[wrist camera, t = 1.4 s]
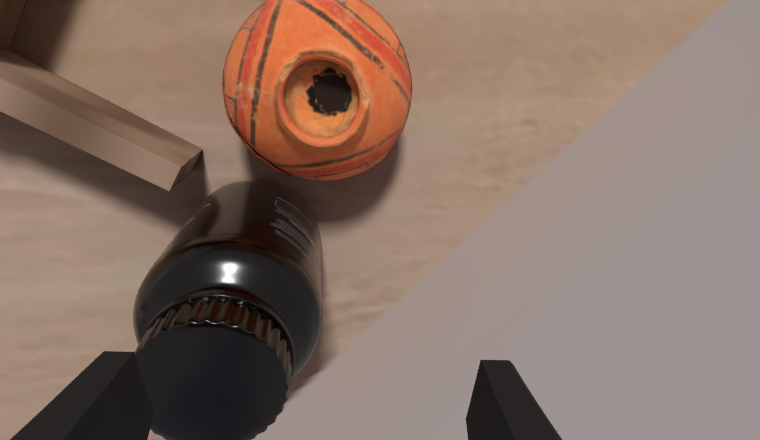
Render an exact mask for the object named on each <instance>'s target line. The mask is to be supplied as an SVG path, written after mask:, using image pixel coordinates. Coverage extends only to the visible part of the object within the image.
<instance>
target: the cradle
mask: <svg viewBox="0 0 760 440" xmlns="http://www.w3.org/2000/svg"><path fill="white" fill-rule="evenodd" d="M26 1H27V0H0V111H1V112H3V113H5V114H7V115H9V116H11V117H13V118H15V119H18V120H20V121H22V122H24V123H26V124H28V125H30V126H32V127H34V128H37V129H39V130H41V131H43V132H45V133H47V134H49V135H51V136H53V137H56V138H58V139H60V140H62V141H64V142H66V143H68V144H70V145H72V146H75V147H77V148H79V149H81V150H83V151H85V152H87V153H89V154H91V155H93V156H96V157H98V158H100V159H102V160H104V161H106V162H108V163H110V164H112V165H115V166H117V167H119V168H121V169H123V170H125V171H127V172H129V173H131V174H134V175H136V176H138V177H140V178H142V179H144V180H146V181H148V182H150V183H153V184H155V185H157V186H159V187H161V188H163V189H165V190H167V191H170V190H171V189H172V188H174V187H175V186H176V185H177V184H178V183H179V182H180V181H181V180H182V179H183V178H184V177H185V176H186V175H187V174H189V173H190V172H191V171H192V170H193V167H194V165H195V163H196V161H197V159H198V157H199V155H200V153H201V151H202V149H201V148H199V147H197V146H195V145H193V144H191V143H189V142H187V141H185V140H184V139H182V138H180V137H178V136H176V135H174V134H172V133H170V132H168V131H166V130H164V129H162V128H160V127H158V126H156V125H154V124H152V123H150V122H148V121H146V120H144V119H142V118H140V117H138V116H136V115H134V114H132V113H130V112H128V111H127V110H125V109H123V108H121V107H119V106H117V105H115V104H113V103H111V102H109V101H107V100H105V99H103V98H101V97H99V96H97V95H95V94H93V93H91V92H89V91H87V90H85V89H83V88H81V87H79V86H77V85H75V84H73V83H71V82H70V81H68V80H66V79H64V78H62V77H60V76H58V75H56V74H54V73H52V72H50V71H48V70H46V69H44V68H42V67H40V66H38V65H36V64H34V63H32V62H30V61H28V60H26V59H24V58H22V57H20V56H18V55H16V54H14V53H13V52H11V51H9V47H10V45H11V42H12V39H13V36H14V34H15V31H16V28H17V26H18V23H19V20H20V17H21V15H22V12H23V9H24V6H25V4H26Z"/></svg>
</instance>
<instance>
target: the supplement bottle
mask: <svg viewBox="0 0 760 440" xmlns="http://www.w3.org/2000/svg"><path fill="white" fill-rule="evenodd" d="M321 321H322V279H321V239H320V232H319V228H318V225H317V222H316V220H315V218H314V216H313V214H312V212H311V211H310V209H309V208H308V207H307V205H306V204H305V203H304V202H303V201H302V200H301V199H300V198H299V197H297V196H296V195H295V194H293V193H292V192H290V191H289V190H287V189H285V188H283V187H281V186H278V185H275V184H272V183H268V182H263V181H241V182H236V183H232V184H229V185H226V186H224V187H222V188H220V189H218V190H216V191H215V192H213V193H212V194H211V195H209V196H208V197H207V198H206V199H205V200H204V201H203V202H202V203H201V204H200V205H199V206H198V207H197V209H196V210H195V211H194V212H193V214H192V215H191V216H190V217H189V219H188V220H187V221H186V223H185V224H184V225H183V227H182V228H181V229H180V231H179V232H178V233H177V235H176V236H175V237H174V239H173V240H172V241H171V243H170V244H169V245H168V247H167V248H166V249H165V250H164V252H163V253H162V254H161V256H160V257H159V258H158V260H157V261H156V262H155V264H154V265H153V266H152V268H151V269H150V271H149V272H148V274H147V275H146V277H145V279H144V280H143V282H142V284H141V286H140V288H139V290H138V293H137V296H136V300H135V305H134V312H133V324H134V331H135V335H136V339H137V343H138V347H137V349H136V350H135V355H136V359H137V362H138V365H139V368H140V371H141V374H142V377H143V380H144V383H145V386H146V389H147V392H148V395H149V398H150V401H151V404H152V408H153V411H154V418H153V421H152V424H151V430H152V431H153V432H154V434H157V435H160V436H162V437H163V438H164V439H166V440H251V439H254V438H255V437H256V435H257V434H259V433H262V432H264V431H266V429H267V427H268V426H269V425H271V424H272V423H274V422H275V420H276V417H277V415H279V414H280V413H281V412H282V411H283V408H284V403H285V402H286V401H287V399H288V396H289V386H290V383H291V379H292V378H293V377H294V376H295V375H296V374H297V373H298V372H299V371H300V370H301V369H302V368H303V367H304V365H305V364H306V363H307V362H308V360H309V359H310V357H311V355H312V354H313V351H314V349H315V347H316V345H317V342H318V339H319V335H320V330H321Z"/></svg>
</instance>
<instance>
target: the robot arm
mask: <svg viewBox="0 0 760 440" xmlns="http://www.w3.org/2000/svg"><path fill="white" fill-rule="evenodd" d="M153 418H154V411H153V408H152V404H151V401H150V398H149V395H148V392H147V389H146V386H145V383H144V380H143V377H142V374H141V371H140V368H139V365H138V362H137V359H136V355H135V352H110V351H104V352H103V353H102V354H101V355H100V356H98V357H97V358H96V359H95V360H94V361H93V362H92V363H91V364H90V365H89V366H88V367H87V368H86V369H85V370H83V371H82V372H81V373H80V374H79V375H78V376H77V377H76V378H75V379H74V380H73V381H72V382H71V383H70V384H69V385H68V386H67V387H66V388H65V389H64V390H63V391H62V392H61V393H59V394H58V395H57V396H56V397H55V398H54V399H53V400H52V401H51V402H50V403H49V404H48V405H47V406H46V407H45V408H44V409H43V410H42V411H41V412H39V413H38V414H37V415H36V416H35V417H34V418H33V419H32V420H31V421H30V422H29V423H28V424H27V425H25V426H24V427H23V428H22V429H21V430H20V431H19V432H18V433H17V434H16V435H15V436H13V437H12V438H11V439H10V440H147V438H148V435H149V431H150V428H151V424H152V421H153ZM466 422H467V423H466V424H467V432H468V440H562V439H561V437H560V436H559V434H558V433H557V432H556V430H555V429H554V427H553V426H552V424H551V423H550V421H549V420H548V418H547V417H546V415H545V414H544V412H543V411H542V409H541V408H540V406H539V405H538V403H537V402H536V400H535V399H534V397H533V396H532V394H531V392H530V391H529V389H528V388H527V386H526V385H525V383H524V381H523V380H522V378H521V377H520V375H519V373H518V372H517V370H516V368H515V367H514V365H513V364H512V363H511V362H510V361H508V360H505V361H504V360H481V361H480V366H479V369H478V373H477V377H476V381H475V385H474V389H473V393H472V397H471V401H470V405H469V409H468V413H467V417H466Z"/></svg>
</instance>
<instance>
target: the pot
mask: <svg viewBox="0 0 760 440" xmlns="http://www.w3.org/2000/svg"><path fill="white" fill-rule="evenodd" d="M222 85H223V94H224V95H223V96H224V103H225V109H226V114H227V117H228V120H229V121H230V123H231V125H232V127H233V129H234V130H235V132H236V133H237V134H238V136H239V137H240V138H241V139H242V141H243V142H244V144H245V145H246V146H247V148H248V149H249V150H250V151H251V152H252V153H253V154H254V155H255V156H256V157H258V158H259V159H260V160H261V161H262V162H264V163H265V164H266V165H268V166H269V167H271V168H273V169H275V170H278V171H280V172H282V173H285V174H288V175H290V176H292V175H294V176H297V177H300V178H304V179H308V180H315V181H331V180H339V179H344V178H348V177H351V176H354V175H357V174H360V173H362V172H364V171H366V170H368V169H370V168H371V167H373V166H375V165H376V164H378V163H379V162H381V161H382V160H383V159H384V158H385V157H386V155H387V154H388V153H389V152H390V150H391V149H392V147H393V145H394V144H395V142H396V140H397V139H398V137H399V136H400V134H401V132H402V131H403V129H404V126H405V123H406V120H407V117H408V114H409V110H410V106H411V98H412V79H411V73H410V68H409V64H408V61H407V57H406V54H405V51H404V48H403V46H402V44H401V42H400V40H399V38H398V36H397V35H396V33H395V32H394V30H393V29H392V27H391V26H390V24H389V23H388V22H387V21H386V20H385V19H384V18H383V17H382V16H381V15H380V14H379V13H378V12H377V11H376V10H375V9H373V8H372V7H371V6H369V5H368V4H366V3H365V2H363V1H362V0H268V1H266V2H264V3H263V4H262V5H260V6H259V7H258V8H257V9H256V10H255V11H254V12H253V13H252V14H251V15H250V16H249V17H248V18H247V20H246V21H245V22H244V23H243V25H242V26H241V27H240V29H239V30H238V32H237V33H236V35H235V37H234V39H233V41H232V43H231V46H230V48H229V51H228V54H227V57H226V61H225V65H224V70H223V82H222Z"/></svg>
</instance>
